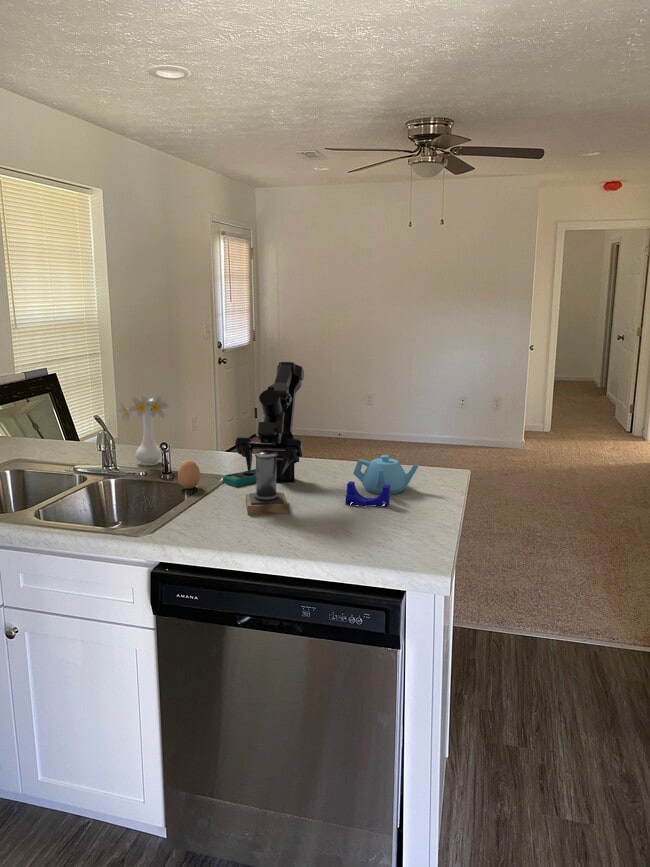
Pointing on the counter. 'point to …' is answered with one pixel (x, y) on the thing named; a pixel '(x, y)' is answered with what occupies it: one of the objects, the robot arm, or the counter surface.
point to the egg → (188, 474)
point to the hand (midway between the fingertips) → (265, 472)
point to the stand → (266, 505)
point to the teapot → (384, 474)
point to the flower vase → (146, 425)
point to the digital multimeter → (240, 478)
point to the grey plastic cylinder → (266, 475)
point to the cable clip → (363, 501)
